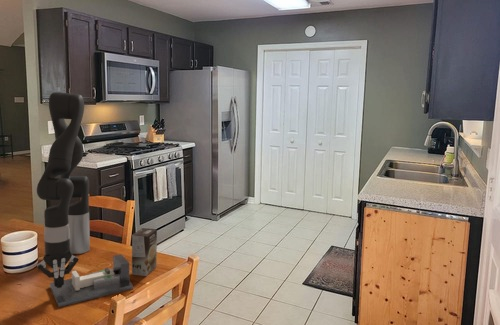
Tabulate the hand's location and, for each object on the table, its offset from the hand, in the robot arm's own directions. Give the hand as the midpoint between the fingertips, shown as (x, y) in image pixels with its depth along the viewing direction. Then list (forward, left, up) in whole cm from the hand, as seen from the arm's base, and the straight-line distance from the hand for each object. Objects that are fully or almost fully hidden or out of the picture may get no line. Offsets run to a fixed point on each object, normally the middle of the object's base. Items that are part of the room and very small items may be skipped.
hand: (58, 286), depth 129 cm
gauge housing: (0, +11, -3) cm, 11 cm away
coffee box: (-4, +32, -4) cm, 32 cm away
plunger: (0, +11, -2) cm, 12 cm away
